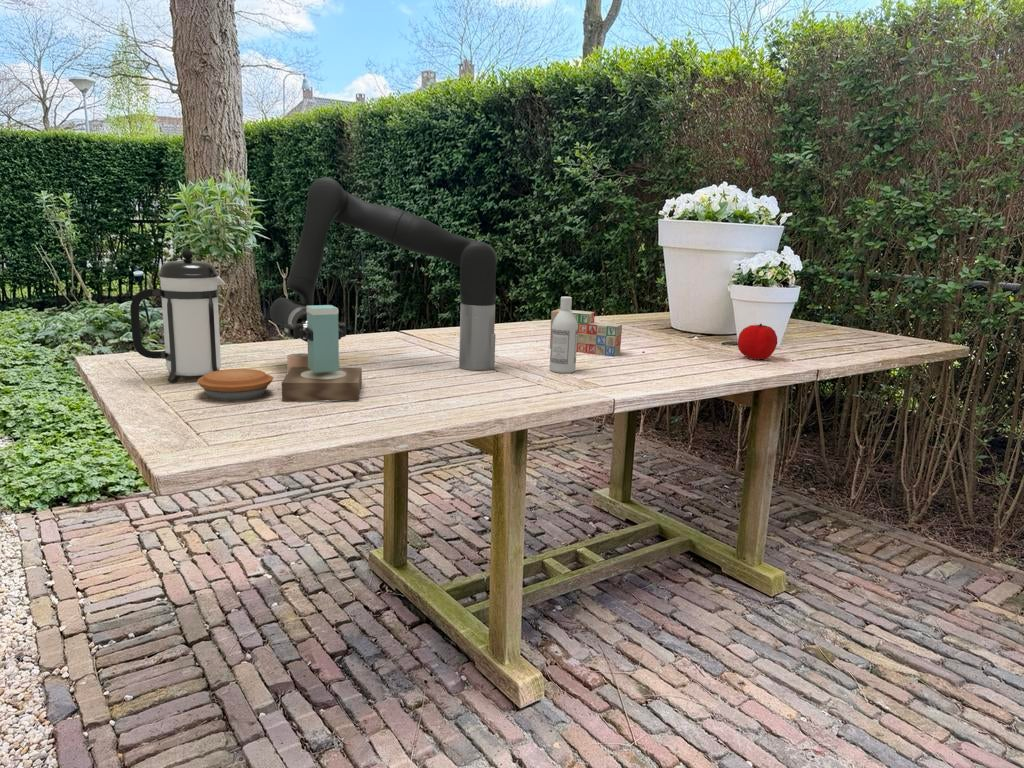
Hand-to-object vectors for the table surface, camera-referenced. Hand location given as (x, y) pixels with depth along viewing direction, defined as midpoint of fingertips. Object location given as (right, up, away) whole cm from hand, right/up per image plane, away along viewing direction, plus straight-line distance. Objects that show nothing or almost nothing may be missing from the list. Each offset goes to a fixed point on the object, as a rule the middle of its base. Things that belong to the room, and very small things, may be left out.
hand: (325, 335), depth 161 cm
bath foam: (+54, -7, +38) cm, 67 cm away
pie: (-20, -13, 0) cm, 24 cm away
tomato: (+116, -3, +67) cm, 135 cm away
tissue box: (-2, -12, +5) cm, 14 cm away
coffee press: (-36, -9, +14) cm, 40 cm away
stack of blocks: (+63, -1, +68) cm, 93 cm away
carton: (-2, -7, +4) cm, 8 cm away
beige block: (-10, -10, +16) cm, 21 cm away
